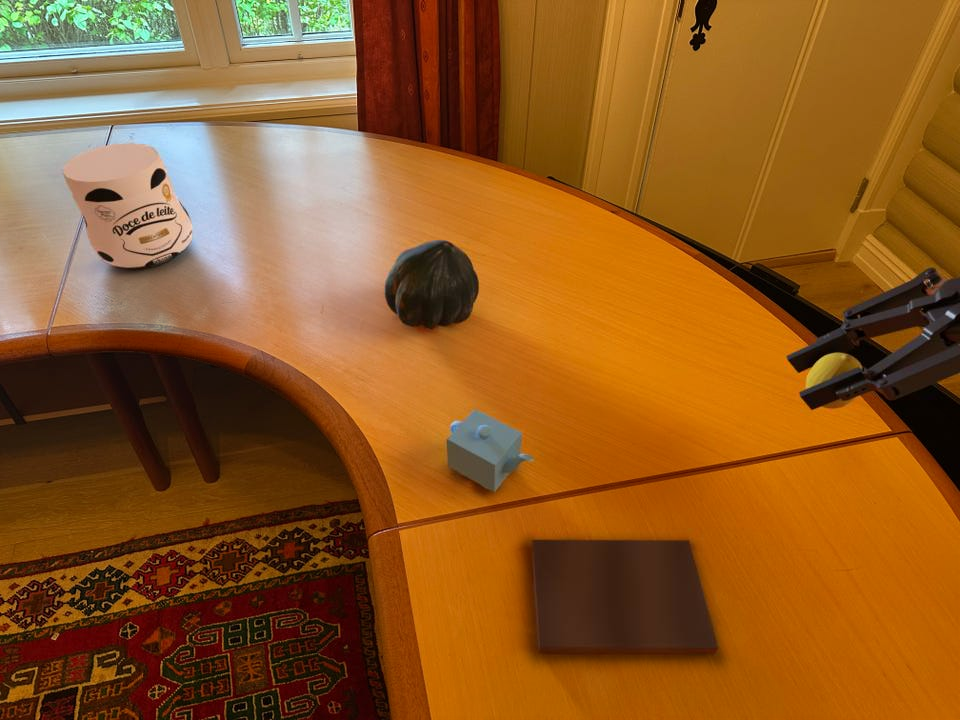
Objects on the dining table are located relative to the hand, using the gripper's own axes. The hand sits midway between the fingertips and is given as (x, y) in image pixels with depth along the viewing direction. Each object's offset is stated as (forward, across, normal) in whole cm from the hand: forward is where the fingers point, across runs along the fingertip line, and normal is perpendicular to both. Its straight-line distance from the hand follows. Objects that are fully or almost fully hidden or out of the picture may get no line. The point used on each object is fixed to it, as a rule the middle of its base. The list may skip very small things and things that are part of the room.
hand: (799, 382), depth 71 cm
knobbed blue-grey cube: (+35, -8, +15) cm, 39 cm away
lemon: (0, 0, -5) cm, 5 cm away
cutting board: (+24, -22, +4) cm, 33 cm away
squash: (+44, +23, +25) cm, 56 cm away
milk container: (+85, +35, +65) cm, 113 cm away
